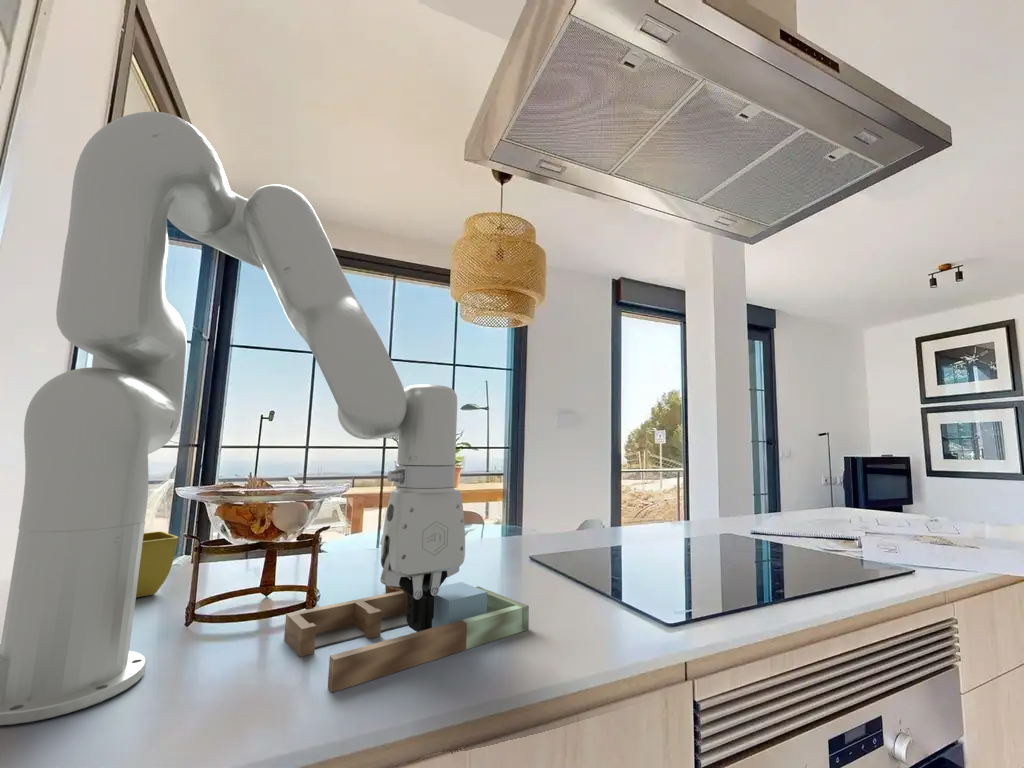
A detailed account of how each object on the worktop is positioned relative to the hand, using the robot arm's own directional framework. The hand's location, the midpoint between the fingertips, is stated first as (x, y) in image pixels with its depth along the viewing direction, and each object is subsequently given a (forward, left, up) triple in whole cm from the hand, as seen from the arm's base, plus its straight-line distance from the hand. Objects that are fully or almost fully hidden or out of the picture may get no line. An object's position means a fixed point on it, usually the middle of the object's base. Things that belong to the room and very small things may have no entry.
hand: (419, 628), depth 58 cm
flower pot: (-27, +44, -2) cm, 52 cm away
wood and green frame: (0, +3, -2) cm, 3 cm away
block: (+5, 0, -2) cm, 6 cm away
